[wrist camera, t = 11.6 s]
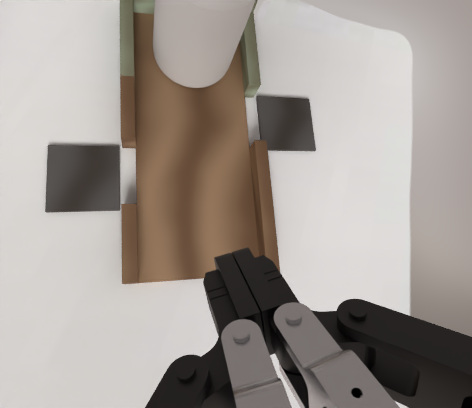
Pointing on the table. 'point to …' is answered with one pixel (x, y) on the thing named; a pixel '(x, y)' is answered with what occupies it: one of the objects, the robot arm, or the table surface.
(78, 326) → the table surface
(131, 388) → the table surface
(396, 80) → the table surface
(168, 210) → the lane
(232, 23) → the pill bottle
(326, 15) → the table surface
